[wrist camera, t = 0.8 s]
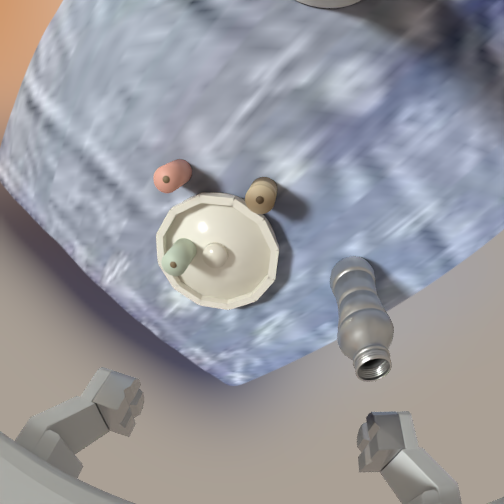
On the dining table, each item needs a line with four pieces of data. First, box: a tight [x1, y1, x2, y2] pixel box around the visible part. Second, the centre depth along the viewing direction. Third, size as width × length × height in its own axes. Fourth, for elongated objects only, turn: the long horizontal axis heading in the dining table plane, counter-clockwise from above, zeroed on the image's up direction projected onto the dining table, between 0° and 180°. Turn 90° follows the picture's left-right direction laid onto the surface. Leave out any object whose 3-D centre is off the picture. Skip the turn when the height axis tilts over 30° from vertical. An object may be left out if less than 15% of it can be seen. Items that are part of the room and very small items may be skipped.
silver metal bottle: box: [330, 256, 394, 382], centre depth 35 cm, size 6×7×20 cm
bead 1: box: [154, 159, 192, 193], centre depth 39 cm, size 4×4×5 cm
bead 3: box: [245, 177, 277, 214], centre depth 39 cm, size 4×4×5 cm
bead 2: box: [161, 238, 196, 276], centre depth 43 cm, size 4×4×5 cm
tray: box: [156, 192, 279, 310], centre depth 45 cm, size 18×18×2 cm
